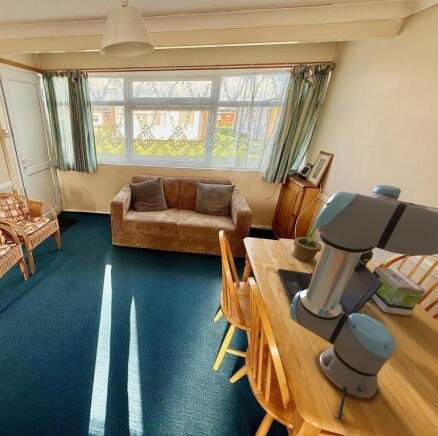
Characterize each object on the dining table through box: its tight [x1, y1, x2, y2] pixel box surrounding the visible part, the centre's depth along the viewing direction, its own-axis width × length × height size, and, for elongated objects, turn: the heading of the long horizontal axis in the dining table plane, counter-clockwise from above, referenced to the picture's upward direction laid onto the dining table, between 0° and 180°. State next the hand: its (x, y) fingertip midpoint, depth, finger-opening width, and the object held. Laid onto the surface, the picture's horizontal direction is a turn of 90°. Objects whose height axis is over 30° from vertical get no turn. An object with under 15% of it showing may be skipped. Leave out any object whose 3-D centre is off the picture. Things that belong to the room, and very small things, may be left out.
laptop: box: [277, 268, 346, 313], centre depth 114 cm, size 21×30×2 cm
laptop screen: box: [339, 260, 383, 315], centre depth 106 cm, size 21×30×1 cm
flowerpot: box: [293, 227, 323, 263], centre depth 135 cm, size 14×14×30 cm
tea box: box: [370, 266, 426, 316], centre depth 106 cm, size 15×10×15 cm
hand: (349, 268), depth 104 cm, fingers closed
